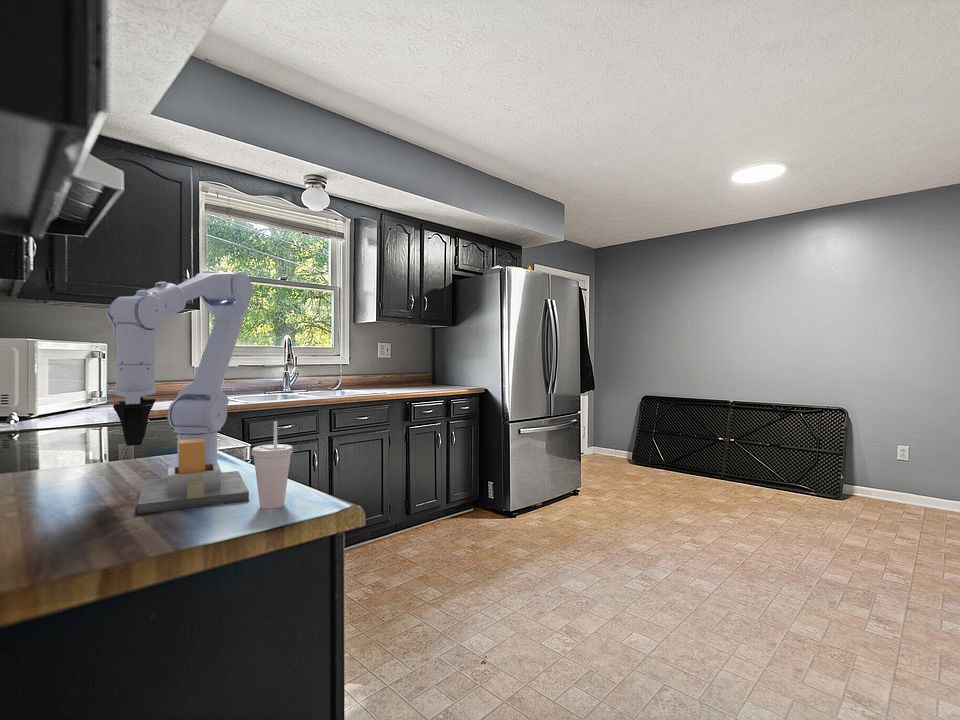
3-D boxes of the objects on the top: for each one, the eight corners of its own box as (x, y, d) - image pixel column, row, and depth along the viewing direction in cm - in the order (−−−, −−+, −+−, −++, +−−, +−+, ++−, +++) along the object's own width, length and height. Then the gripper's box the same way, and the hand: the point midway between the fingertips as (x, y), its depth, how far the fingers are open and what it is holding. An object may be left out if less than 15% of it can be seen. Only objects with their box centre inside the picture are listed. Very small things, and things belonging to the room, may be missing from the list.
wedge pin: (179, 484, 95) (179, 440, 94) (204, 482, 96) (204, 438, 96) (178, 489, 91) (178, 443, 91) (204, 487, 93) (205, 441, 93)
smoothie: (278, 512, 83) (278, 424, 83) (242, 510, 85) (242, 423, 85) (300, 501, 90) (300, 419, 90) (266, 499, 91) (266, 418, 91)
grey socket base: (143, 487, 98) (143, 463, 98) (238, 478, 106) (238, 456, 106) (137, 514, 82) (137, 485, 82) (248, 500, 90) (249, 474, 90)
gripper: (112, 363, 97) (112, 437, 97) (102, 365, 84) (102, 450, 85) (157, 363, 100) (157, 434, 101) (154, 365, 88) (154, 446, 88)
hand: (135, 441), depth 93 cm, fingers open, 7 cm apart
